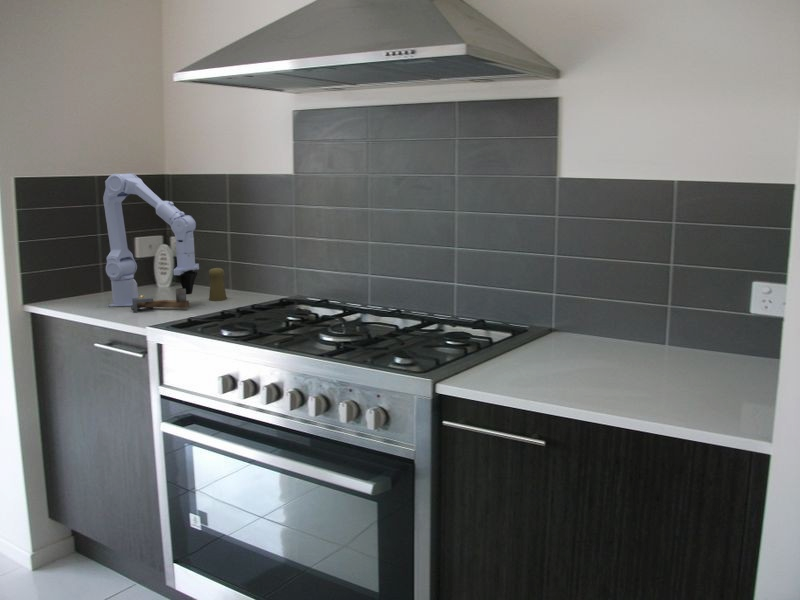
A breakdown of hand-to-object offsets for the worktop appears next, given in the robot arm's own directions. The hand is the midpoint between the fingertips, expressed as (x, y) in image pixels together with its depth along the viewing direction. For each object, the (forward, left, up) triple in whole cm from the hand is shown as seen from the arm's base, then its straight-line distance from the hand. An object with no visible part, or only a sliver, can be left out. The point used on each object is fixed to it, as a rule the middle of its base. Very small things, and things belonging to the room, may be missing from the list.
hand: (188, 293), depth 264 cm
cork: (-14, +6, -5) cm, 16 cm away
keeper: (+7, -13, -4) cm, 15 cm away
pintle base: (+2, -15, -4) cm, 16 cm away
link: (+4, -8, -4) cm, 9 cm away
